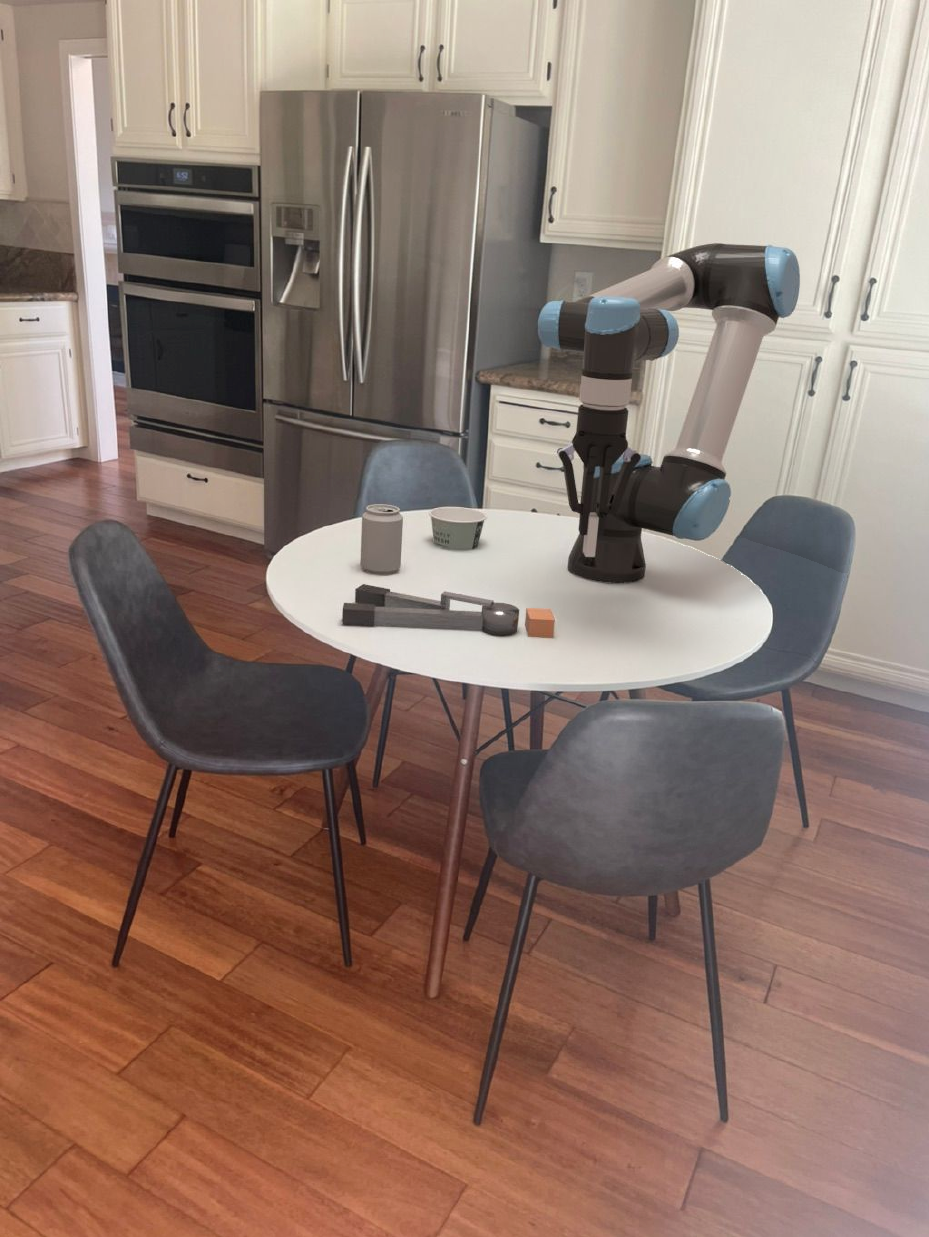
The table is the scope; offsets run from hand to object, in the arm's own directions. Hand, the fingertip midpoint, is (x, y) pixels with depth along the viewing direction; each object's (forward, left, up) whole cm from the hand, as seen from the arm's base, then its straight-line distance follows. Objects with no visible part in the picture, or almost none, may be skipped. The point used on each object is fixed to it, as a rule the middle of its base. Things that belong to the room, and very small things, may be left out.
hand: (588, 554), depth 151 cm
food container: (+19, -45, -13) cm, 51 cm away
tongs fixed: (+25, +3, -13) cm, 28 cm away
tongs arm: (+26, -3, -12) cm, 29 cm away
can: (+34, -25, -13) cm, 44 cm away
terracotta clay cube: (+7, +3, -13) cm, 15 cm away
